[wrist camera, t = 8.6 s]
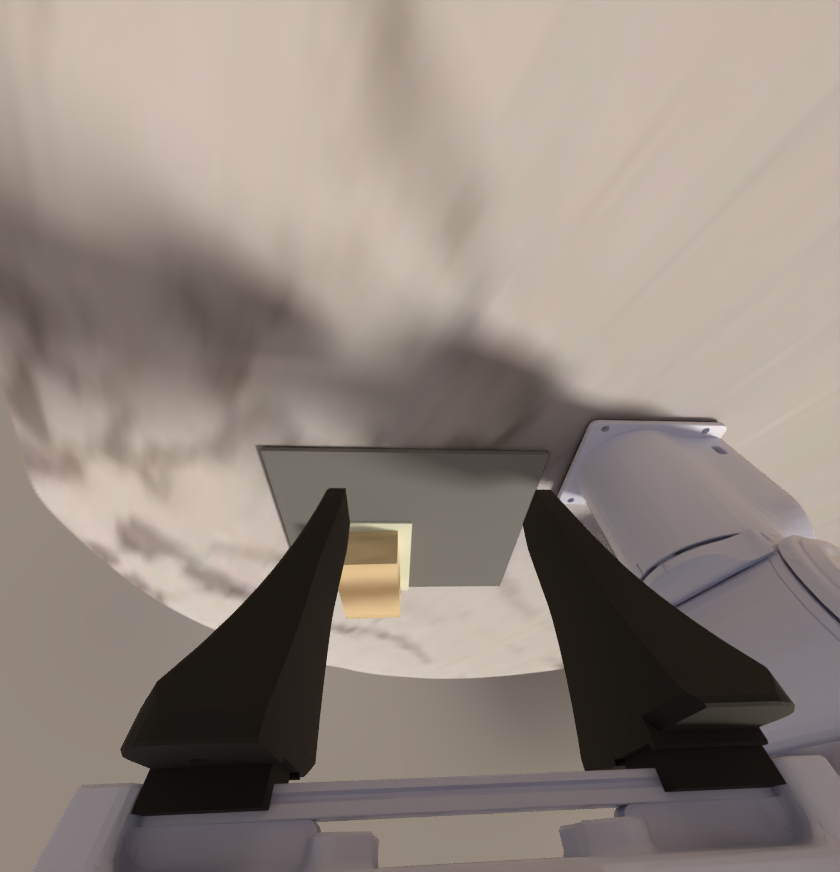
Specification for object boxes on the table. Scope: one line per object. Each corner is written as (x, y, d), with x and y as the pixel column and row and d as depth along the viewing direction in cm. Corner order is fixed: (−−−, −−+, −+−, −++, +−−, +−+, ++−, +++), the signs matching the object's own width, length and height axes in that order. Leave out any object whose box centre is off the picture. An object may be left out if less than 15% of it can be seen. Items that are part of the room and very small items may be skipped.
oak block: (400, 586, 33) (400, 617, 31) (350, 587, 33) (346, 618, 31) (397, 531, 28) (397, 563, 25) (338, 532, 28) (331, 565, 25)
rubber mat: (547, 451, 24) (550, 456, 23) (497, 584, 35) (499, 590, 34) (262, 446, 23) (259, 452, 22) (305, 586, 34) (304, 592, 33)
